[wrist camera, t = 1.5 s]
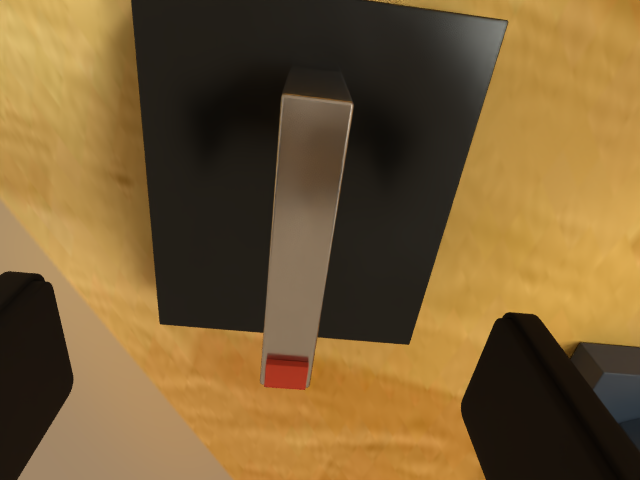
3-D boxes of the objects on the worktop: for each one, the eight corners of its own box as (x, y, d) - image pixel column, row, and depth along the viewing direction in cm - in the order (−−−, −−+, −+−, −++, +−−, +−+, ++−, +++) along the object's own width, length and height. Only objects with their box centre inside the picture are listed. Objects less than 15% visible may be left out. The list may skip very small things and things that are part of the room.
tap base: (161, -28, 14) (127, -35, 12) (475, 17, 15) (509, 20, 12) (178, 283, 20) (159, 324, 18) (397, 303, 21) (409, 345, 19)
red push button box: (579, 341, 23) (627, 402, 19) (747, 356, 24) (822, 417, 20) (504, 470, 29) (531, 535, 25) (641, 479, 29) (684, 543, 26)
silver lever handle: (291, 65, 13) (280, 95, 9) (342, 72, 13) (355, 105, 9) (271, 298, 17) (258, 391, 13) (310, 301, 17) (309, 394, 13)
